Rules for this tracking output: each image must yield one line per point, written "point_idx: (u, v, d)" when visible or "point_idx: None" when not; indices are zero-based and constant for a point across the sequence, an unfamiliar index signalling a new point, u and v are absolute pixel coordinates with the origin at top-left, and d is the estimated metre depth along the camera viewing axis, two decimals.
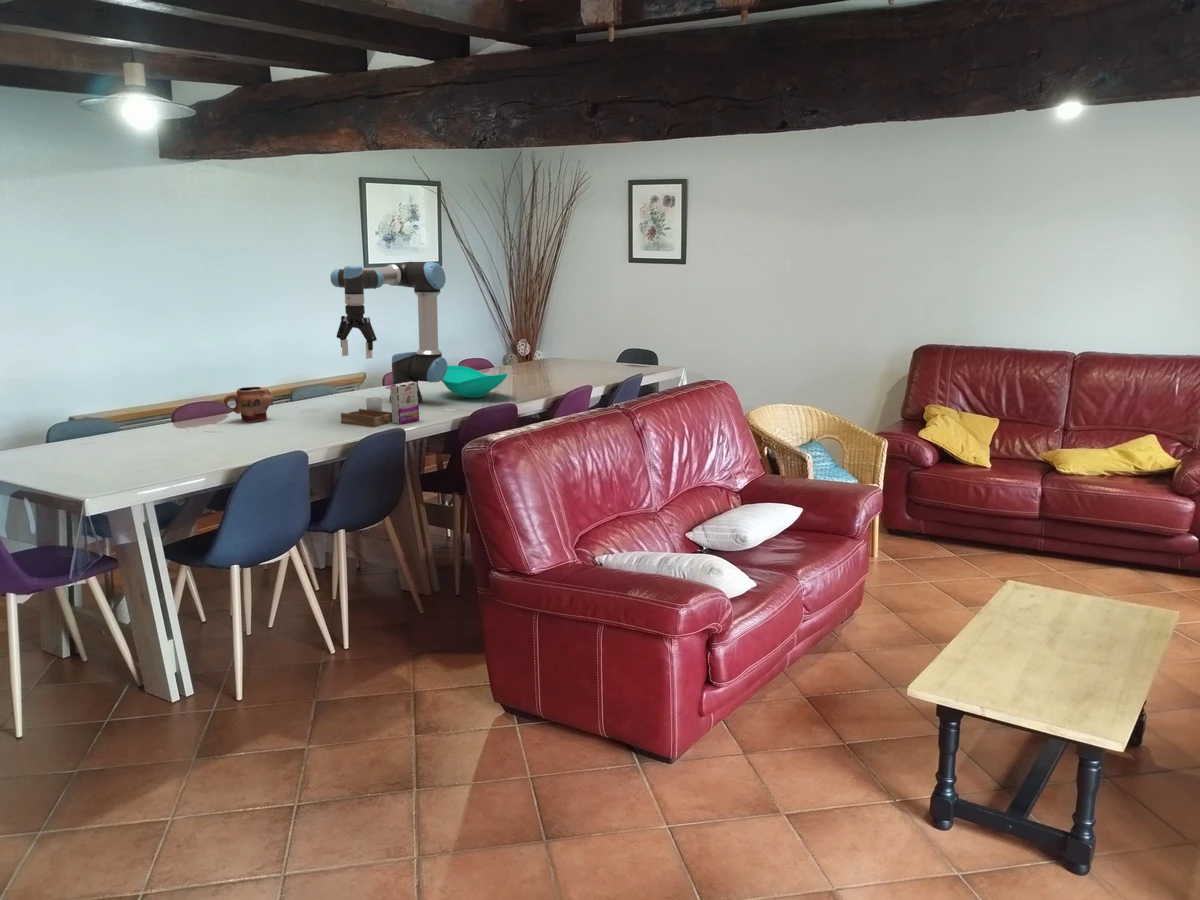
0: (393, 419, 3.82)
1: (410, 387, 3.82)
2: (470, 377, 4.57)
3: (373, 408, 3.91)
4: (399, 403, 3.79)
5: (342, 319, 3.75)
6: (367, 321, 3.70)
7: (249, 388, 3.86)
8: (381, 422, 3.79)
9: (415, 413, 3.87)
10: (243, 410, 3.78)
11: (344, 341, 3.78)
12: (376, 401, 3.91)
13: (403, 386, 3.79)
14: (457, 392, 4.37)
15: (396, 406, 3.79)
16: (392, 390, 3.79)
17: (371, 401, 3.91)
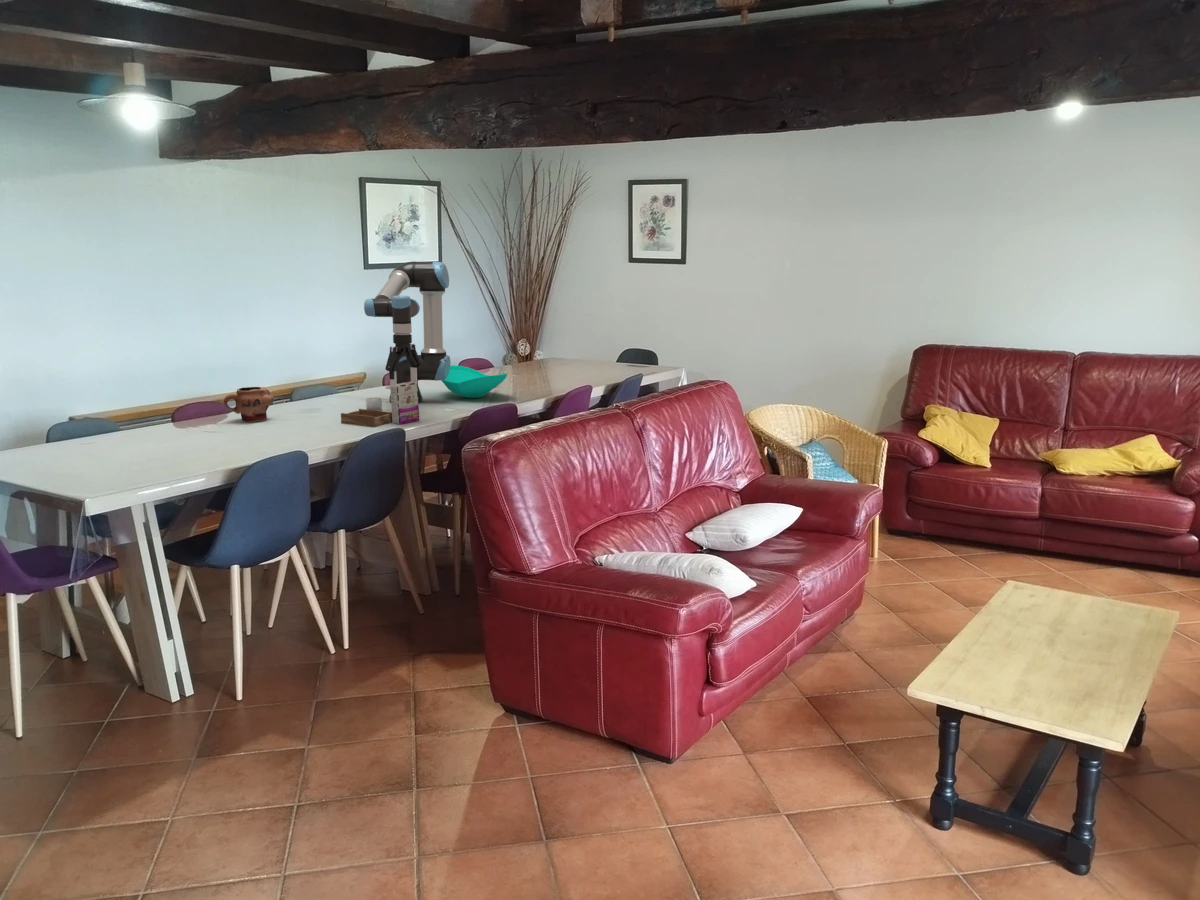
0: (393, 419, 3.82)
1: (409, 387, 3.82)
2: (470, 377, 4.57)
3: (373, 408, 3.91)
4: (399, 403, 3.79)
5: None
6: (391, 350, 3.73)
7: (249, 388, 3.86)
8: (381, 422, 3.79)
9: (415, 413, 3.87)
10: (243, 410, 3.78)
11: (412, 369, 3.87)
12: (376, 401, 3.91)
13: (403, 386, 3.79)
14: (457, 392, 4.37)
15: (396, 406, 3.79)
16: (392, 390, 3.79)
17: (371, 401, 3.91)
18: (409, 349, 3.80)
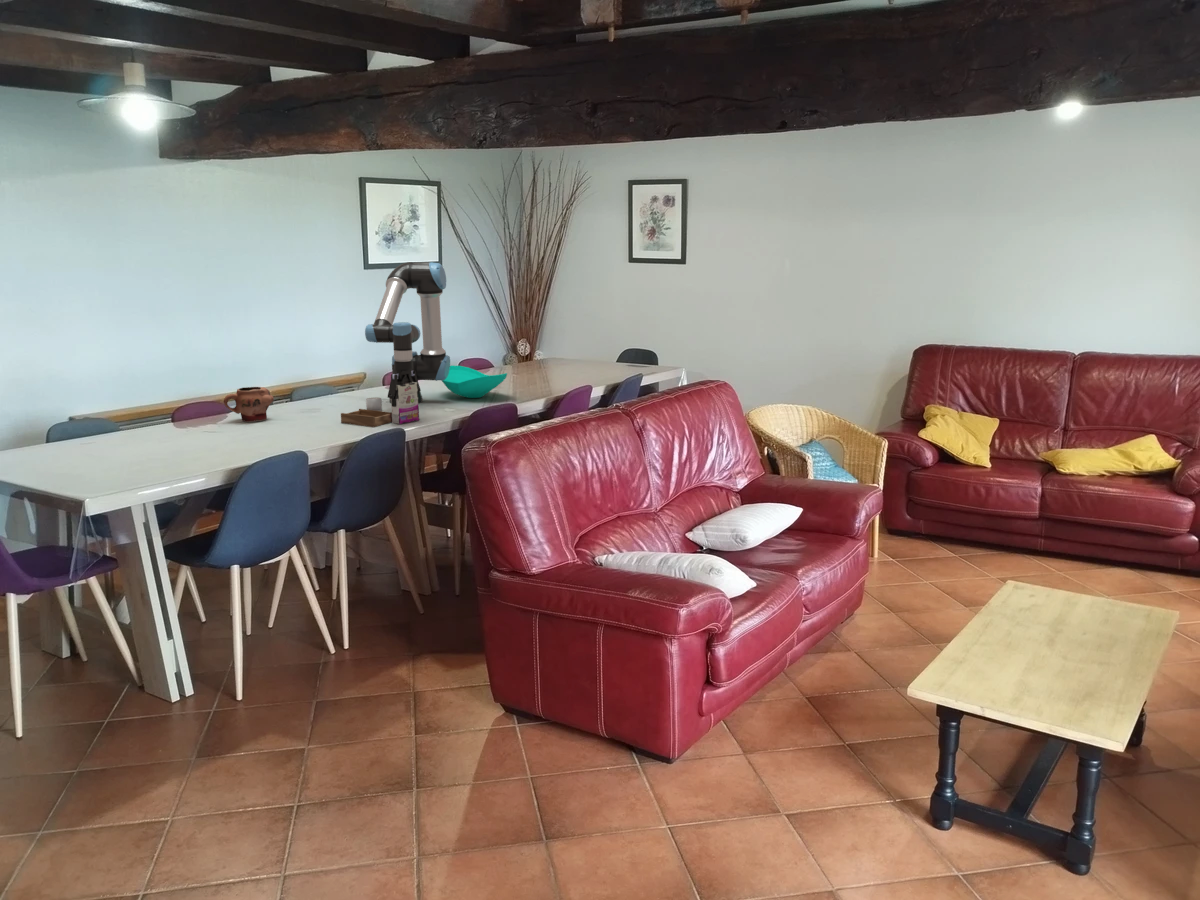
0: (393, 419, 3.82)
1: (409, 387, 3.82)
2: (470, 377, 4.57)
3: (373, 408, 3.91)
4: (399, 403, 3.79)
5: None
6: (392, 378, 3.76)
7: (249, 388, 3.86)
8: (381, 422, 3.79)
9: (415, 413, 3.87)
10: (243, 410, 3.78)
11: None
12: (376, 401, 3.91)
13: (403, 386, 3.79)
14: (457, 392, 4.37)
15: None
16: None
17: (371, 401, 3.91)
18: (410, 375, 3.82)
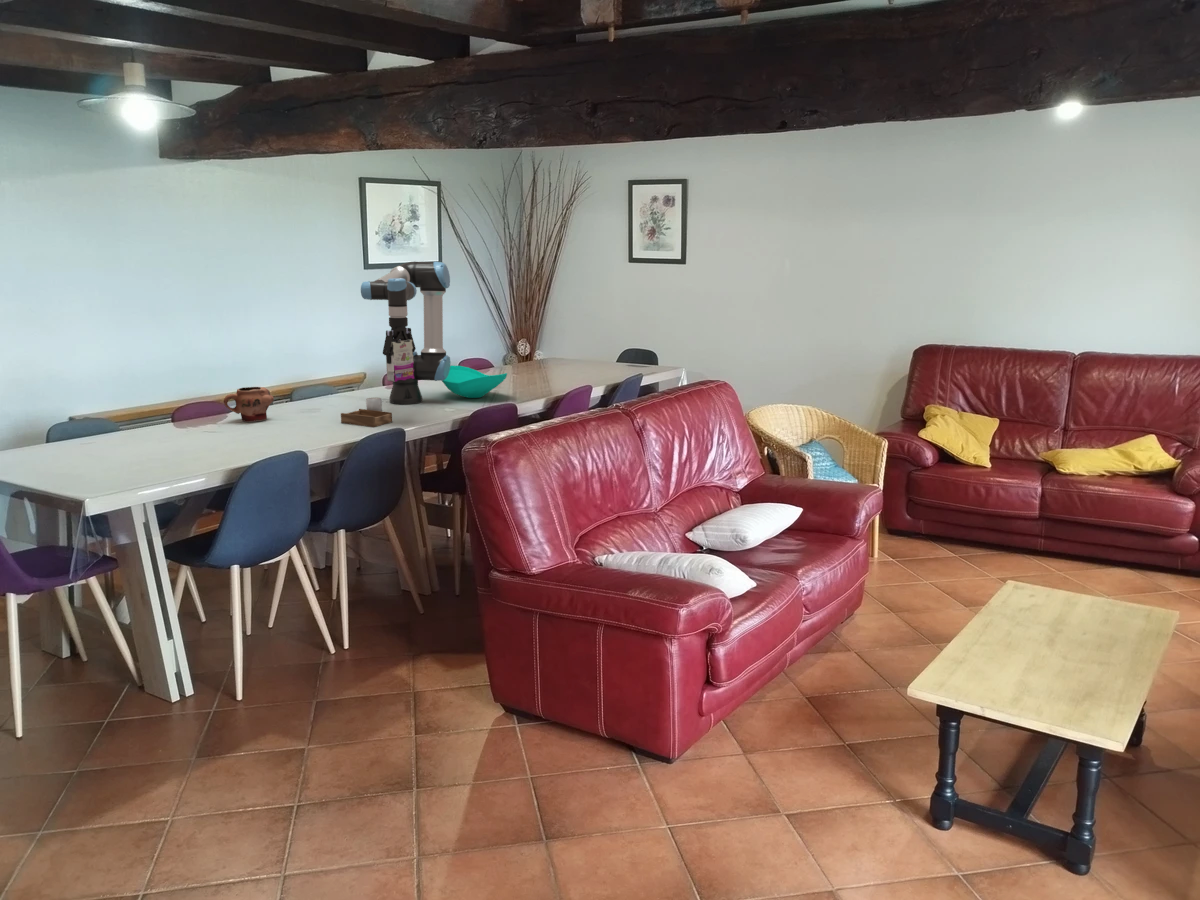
0: (388, 377, 3.78)
1: (405, 344, 3.78)
2: (470, 377, 4.57)
3: (373, 408, 3.91)
4: (394, 360, 3.74)
5: None
6: (387, 334, 3.71)
7: (249, 388, 3.86)
8: (381, 422, 3.79)
9: (411, 371, 3.83)
10: (243, 410, 3.78)
11: None
12: (376, 401, 3.91)
13: (398, 343, 3.75)
14: (457, 392, 4.37)
15: None
16: None
17: (371, 401, 3.91)
18: (405, 332, 3.78)
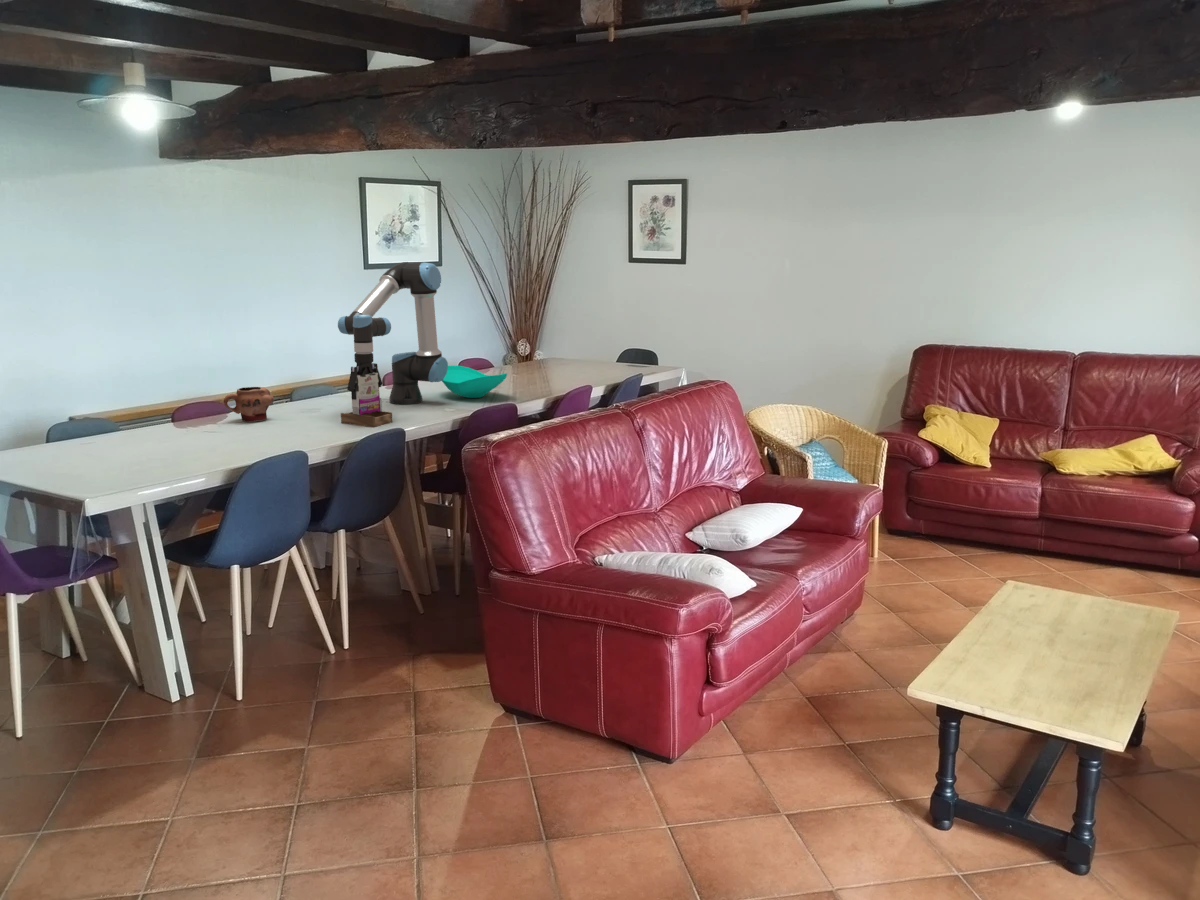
0: (353, 410, 3.79)
1: (370, 378, 3.79)
2: (470, 377, 4.57)
3: None
4: (359, 394, 3.75)
5: None
6: (352, 370, 3.73)
7: (249, 388, 3.86)
8: (381, 422, 3.79)
9: (376, 404, 3.83)
10: (243, 410, 3.78)
11: None
12: None
13: (363, 376, 3.76)
14: (457, 392, 4.37)
15: None
16: None
17: None
18: (371, 368, 3.79)
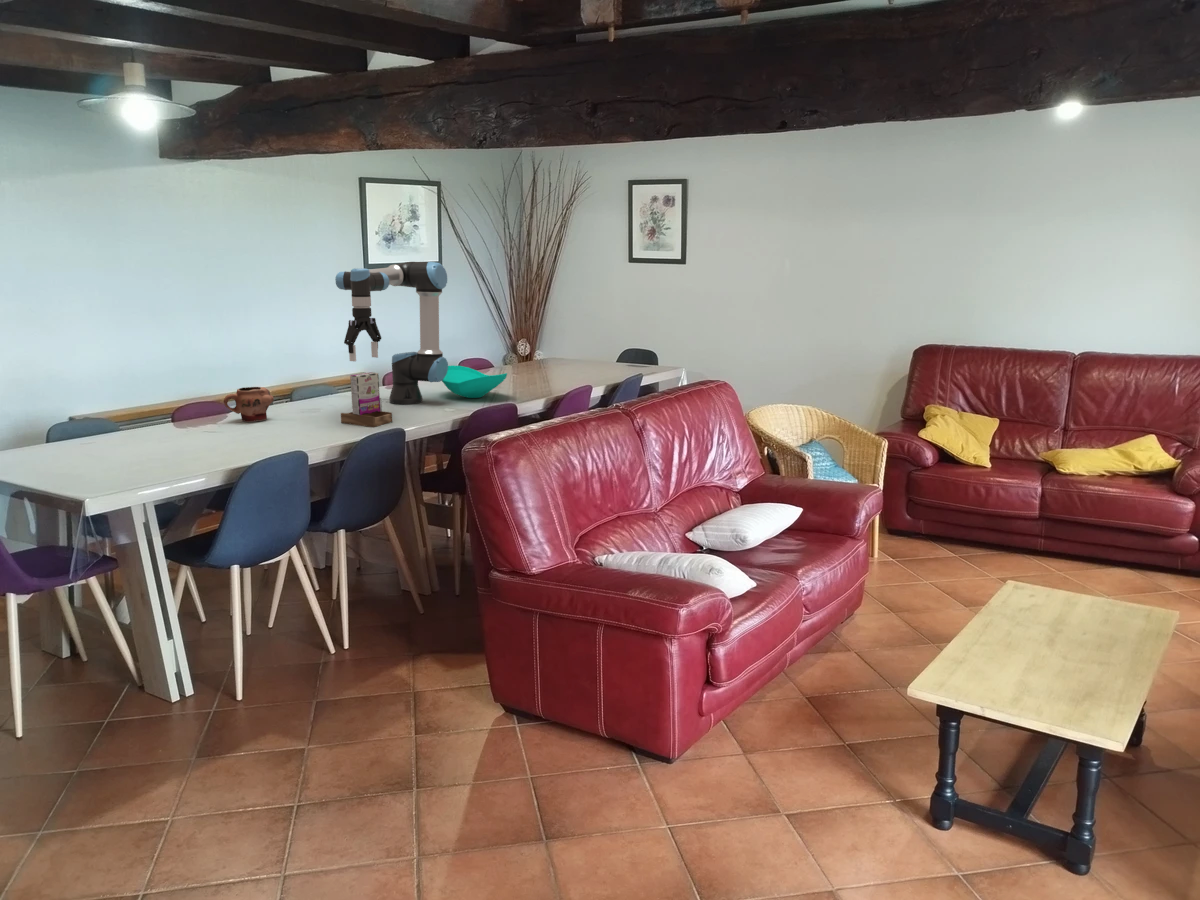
0: (353, 410, 3.79)
1: (370, 378, 3.79)
2: (470, 377, 4.57)
3: None
4: (359, 394, 3.75)
5: None
6: (350, 324, 3.68)
7: (249, 388, 3.86)
8: (381, 422, 3.79)
9: (376, 404, 3.83)
10: (243, 410, 3.78)
11: (372, 343, 3.82)
12: None
13: (363, 376, 3.76)
14: (457, 392, 4.37)
15: (356, 396, 3.76)
16: (352, 381, 3.76)
17: None
18: (369, 323, 3.75)
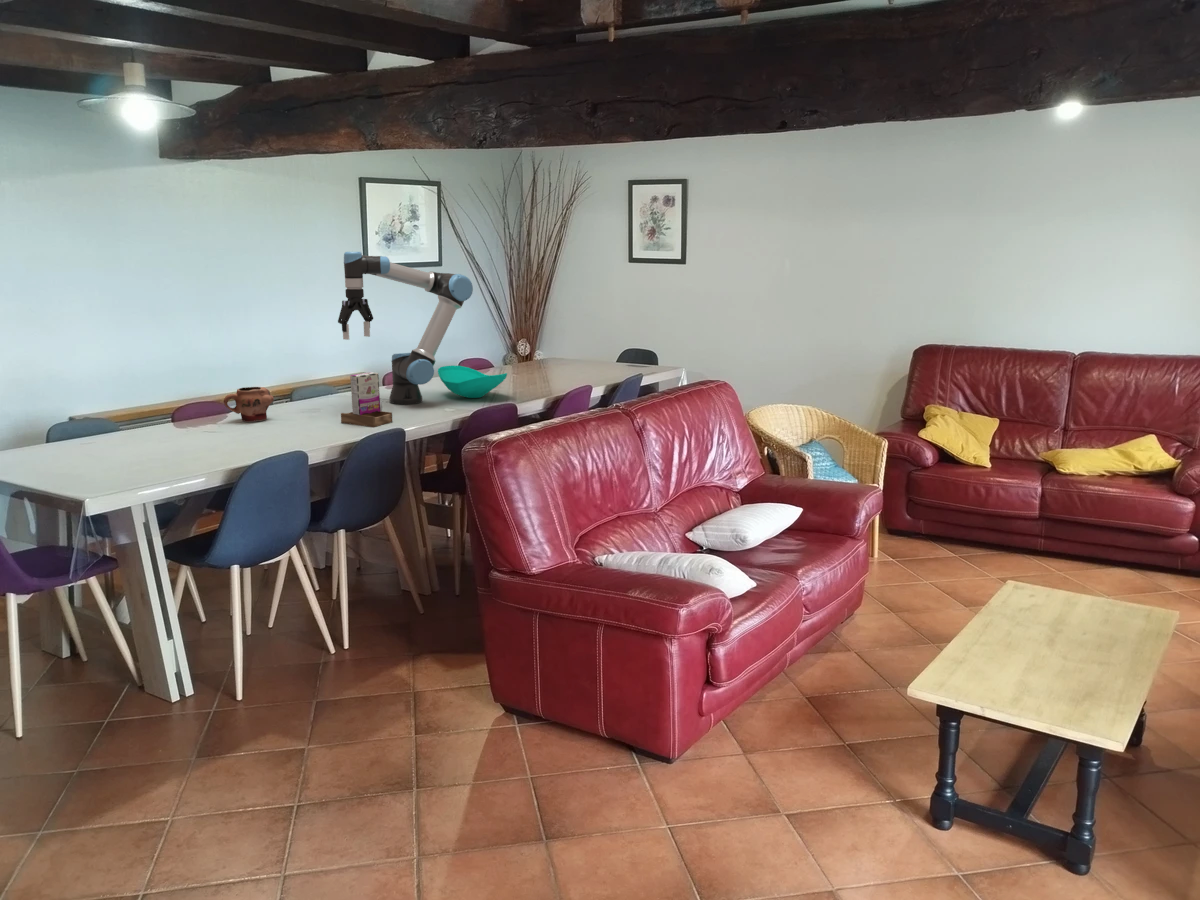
0: (353, 410, 3.79)
1: (370, 378, 3.79)
2: (470, 377, 4.57)
3: None
4: (359, 394, 3.75)
5: None
6: (343, 304, 3.89)
7: (249, 388, 3.86)
8: (381, 422, 3.79)
9: (376, 404, 3.83)
10: (243, 410, 3.78)
11: (365, 322, 4.03)
12: None
13: (363, 376, 3.76)
14: (457, 392, 4.37)
15: (356, 396, 3.76)
16: (352, 381, 3.76)
17: None
18: (361, 303, 3.96)
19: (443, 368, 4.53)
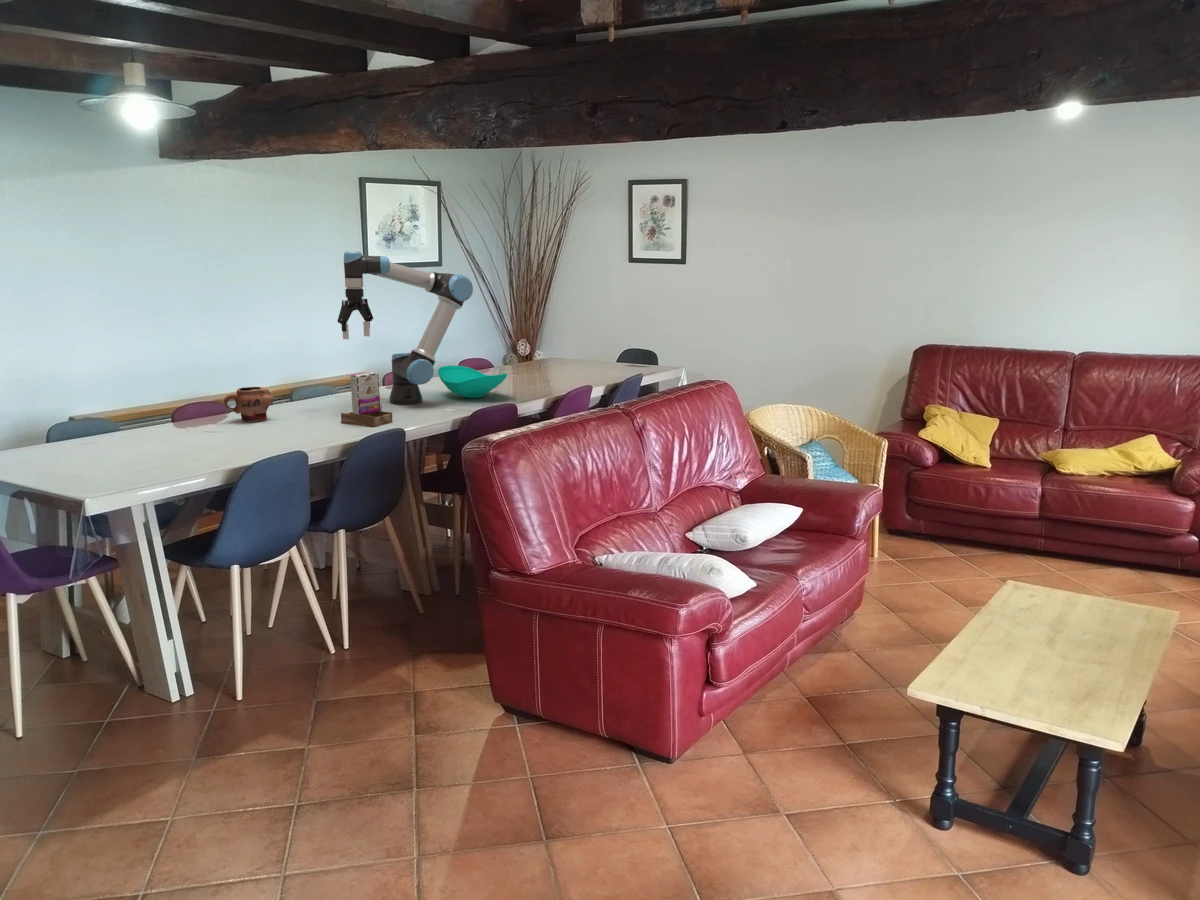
0: (353, 410, 3.79)
1: (370, 378, 3.79)
2: (470, 377, 4.57)
3: None
4: (359, 394, 3.75)
5: None
6: (343, 304, 3.89)
7: (249, 388, 3.86)
8: (381, 422, 3.79)
9: (376, 404, 3.83)
10: (243, 410, 3.78)
11: (365, 322, 4.03)
12: None
13: (363, 376, 3.76)
14: (457, 392, 4.37)
15: (356, 396, 3.76)
16: (352, 381, 3.76)
17: None
18: (361, 303, 3.96)
19: (443, 368, 4.53)
